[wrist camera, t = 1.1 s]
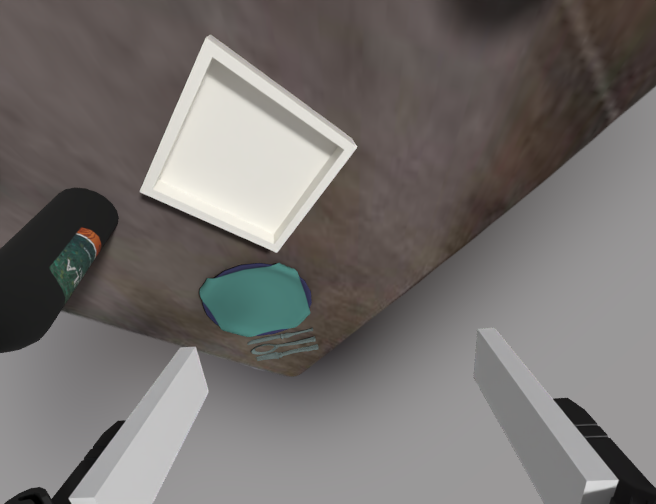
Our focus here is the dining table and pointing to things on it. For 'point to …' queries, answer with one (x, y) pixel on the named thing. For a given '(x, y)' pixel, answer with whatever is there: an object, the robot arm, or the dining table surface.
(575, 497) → the robot arm
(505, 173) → the dining table surface
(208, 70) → the tray
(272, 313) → the cutlery set
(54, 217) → the wine bottle
